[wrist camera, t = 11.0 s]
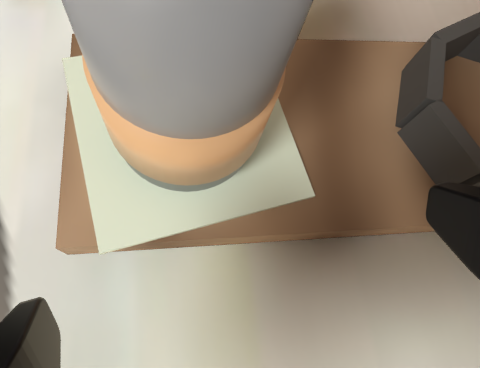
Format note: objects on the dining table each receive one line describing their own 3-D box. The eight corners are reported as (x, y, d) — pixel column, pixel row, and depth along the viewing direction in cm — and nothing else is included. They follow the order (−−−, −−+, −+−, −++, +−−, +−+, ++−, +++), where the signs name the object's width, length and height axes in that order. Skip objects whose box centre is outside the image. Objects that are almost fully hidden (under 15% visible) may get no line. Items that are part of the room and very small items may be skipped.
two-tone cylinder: (241, 211, 15) (364, -10, 5) (89, 173, 15) (-130, -157, 4) (269, 86, 17) (394, -245, 7) (138, 50, 17) (69, -356, 7)
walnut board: (513, 61, 22) (535, 45, 21) (577, 222, 19) (607, 214, 18) (80, 55, 18) (72, 33, 17) (68, 254, 15) (55, 248, 14)
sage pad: (313, 197, 16) (315, 195, 16) (100, 254, 14) (99, 253, 14) (251, 32, 18) (252, 29, 18) (63, 61, 17) (62, 58, 16)
